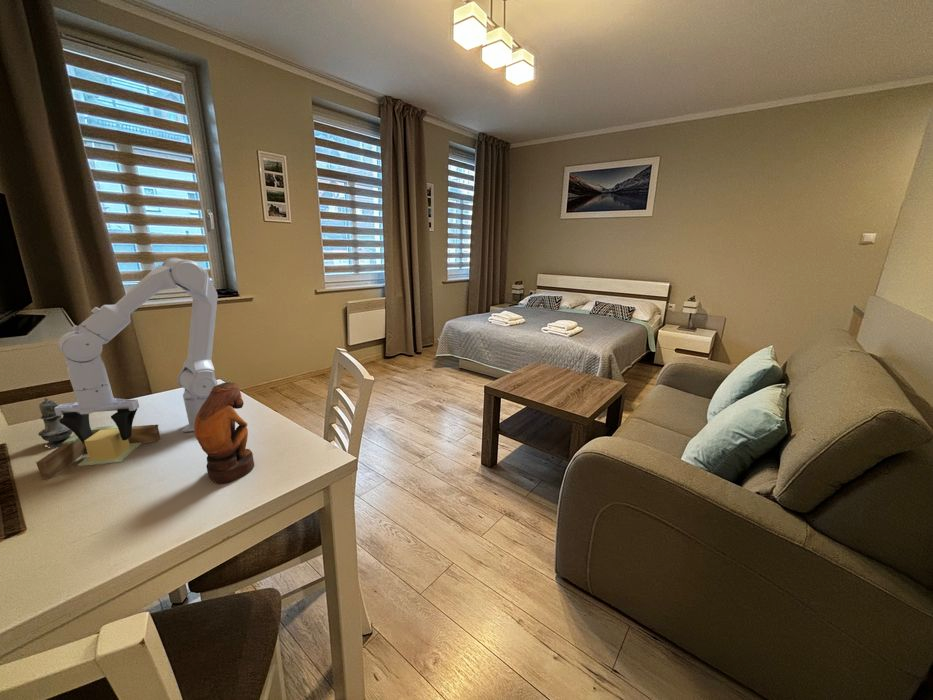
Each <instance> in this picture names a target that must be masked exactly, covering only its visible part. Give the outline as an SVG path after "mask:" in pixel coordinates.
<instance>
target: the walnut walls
mask: <svg viewBox="0 0 933 700" xmlns="http://www.w3.org/2000/svg"><path fill="white" fill-rule="evenodd" d="M90 428H91V431H92V435H94V434H95V433H97V432H98V431H100V430H107V429H118V427H117V425H109V426H108V425H107V426H106V425H105V426H94V427H93V426H92V427H90ZM159 429H160V428H159V425H158V424H148V425H132V432H131V437H130V438H128V440H129V443H142V444H146V443H147V444H149V443H155V442H159V441H160V440H162V438H161V434H160V430H159ZM71 436H72V437H70V438H69V439H67V440H66V441H64V442H63V443H62V444H63V445H62V446H60V447H58V448H55V449H54V450H52V451H51V452H50V453H48V454H47V455H45V456H44V457H42V458H41V459H40V460H38V461H36V462H35V463H36V466H37V470H38V472H39V474H40V477H41V480H47V479H52V478H53V477H55V476H56V475H57V474H58V473H60V472H61V471H63V469H65V468H66V467H68V466H69V465H70V464H72V463H73V462H75V461H76V460H77V459H78V458H80V457H82V456H83V455H84V454H85V453H88V452H87V449H86V446H85V444H83V443H82V442H81V440H80V439H79V438H78V437H77V436H76V434H75V433H74V434H73V435H71Z"/></svg>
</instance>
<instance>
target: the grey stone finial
mask: <svg viewBox="0 0 933 700" xmlns="http://www.w3.org/2000/svg"><path fill="white" fill-rule="evenodd" d="M38 406H39V410H40V413H41V416H40V420H43V423H44V429H42V430H41V431H39V432H38V433H37V435H38V436H40V437H41V438H42V440H44V441H46V442H47V443H45V445H47V446H48V447H50V448H49V449H57V448H56V447H58V448H59V447H60V446H62V445H63V444H62V443H63V442H64V441H66V440H67V439H69V438H70V437H72V436H73V435H72V434H73V431H71V430H70V429H69V428H68V427H66V426H65V425H63V424H61V423H60V421H59V420H60V419H61V418H63V415H61V416H57V415H56V412H55V409H54V408H55V407H57V406H59V405H58V403H57V401H55V400H49V398H47V397H44V401H43V402H41V403H40V404H39V405H38Z"/></svg>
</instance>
